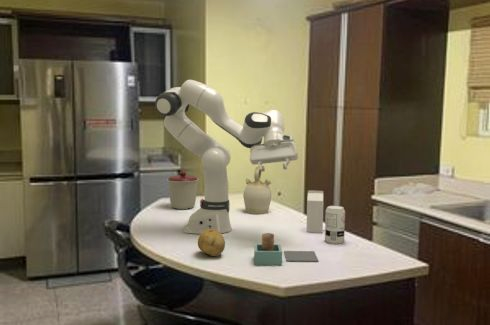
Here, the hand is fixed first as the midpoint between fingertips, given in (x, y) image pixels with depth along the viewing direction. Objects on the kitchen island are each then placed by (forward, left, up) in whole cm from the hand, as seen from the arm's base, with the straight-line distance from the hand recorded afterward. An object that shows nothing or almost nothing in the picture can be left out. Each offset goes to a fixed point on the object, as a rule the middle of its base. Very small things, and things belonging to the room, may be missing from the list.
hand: (273, 169), depth 200 cm
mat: (+10, -16, -32) cm, 37 cm away
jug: (-5, +64, -32) cm, 72 cm away
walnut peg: (-3, -21, -32) cm, 38 cm away
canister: (-47, +73, -32) cm, 92 cm away
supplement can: (+27, +6, -32) cm, 42 cm away
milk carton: (+21, +24, -32) cm, 45 cm away
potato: (-25, -14, -32) cm, 43 cm away
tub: (-3, -21, -32) cm, 38 cm away
